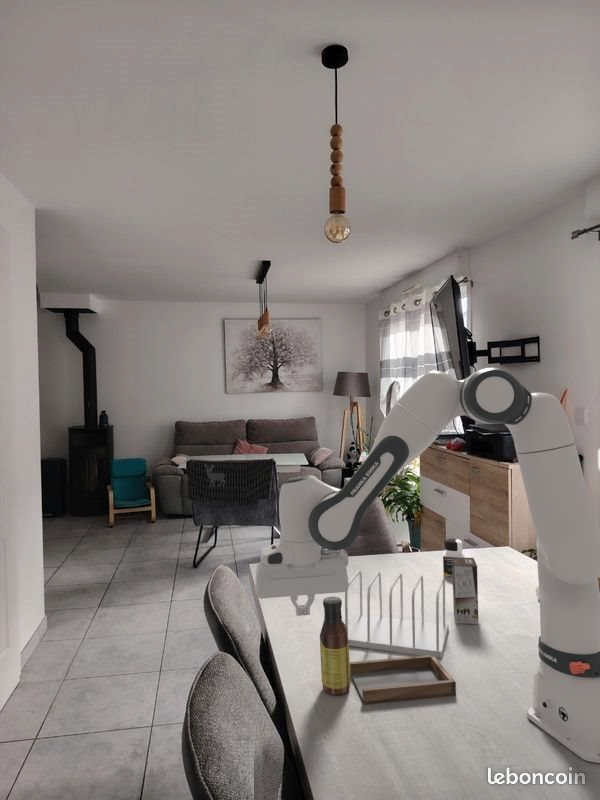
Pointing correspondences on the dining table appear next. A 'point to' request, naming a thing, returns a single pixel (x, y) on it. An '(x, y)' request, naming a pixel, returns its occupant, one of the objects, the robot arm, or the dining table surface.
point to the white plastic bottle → (451, 554)
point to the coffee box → (465, 590)
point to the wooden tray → (401, 679)
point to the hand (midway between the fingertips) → (302, 614)
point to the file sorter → (397, 625)
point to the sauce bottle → (334, 649)
